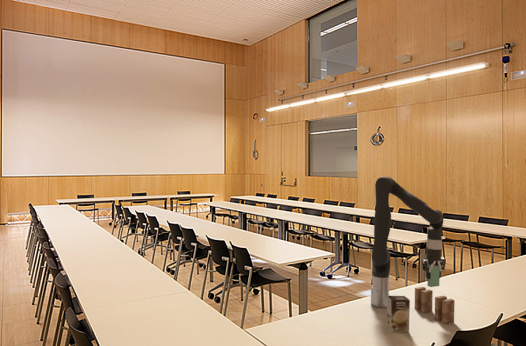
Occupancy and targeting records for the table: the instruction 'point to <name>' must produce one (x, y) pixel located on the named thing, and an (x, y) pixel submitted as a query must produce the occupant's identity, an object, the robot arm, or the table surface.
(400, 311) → the coffee box
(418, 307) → the domino
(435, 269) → the domino
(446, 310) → the domino
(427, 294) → the domino
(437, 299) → the domino
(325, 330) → the table surface
